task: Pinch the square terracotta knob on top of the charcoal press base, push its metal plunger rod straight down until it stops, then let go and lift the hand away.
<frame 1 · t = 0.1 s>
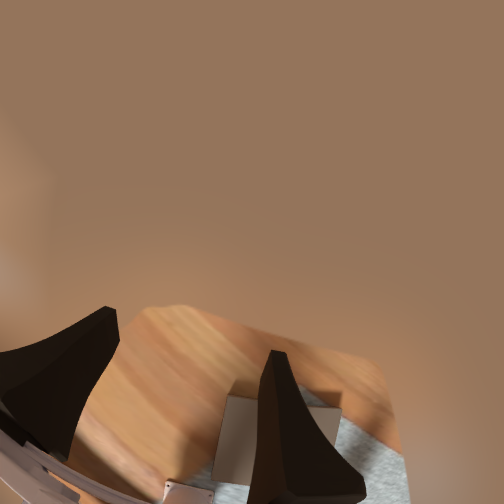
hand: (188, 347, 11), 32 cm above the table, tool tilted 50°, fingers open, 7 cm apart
press base: (275, 444, 36), on the table
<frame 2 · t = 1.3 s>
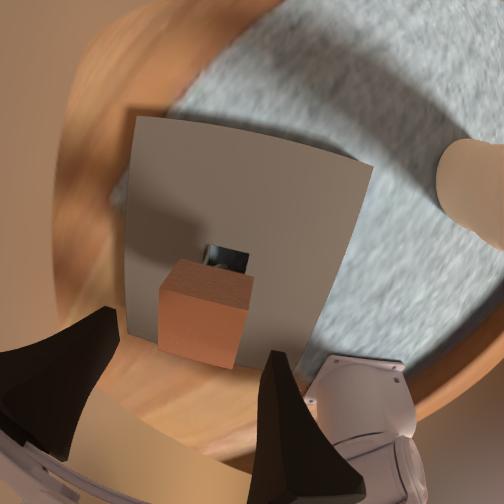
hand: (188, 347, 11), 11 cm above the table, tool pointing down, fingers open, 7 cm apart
press base: (229, 251, 21), on the table
plunger: (211, 297, 15), point 6 cm above the table, slide at 3.0 cm
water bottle: (462, 179, 17), on the table
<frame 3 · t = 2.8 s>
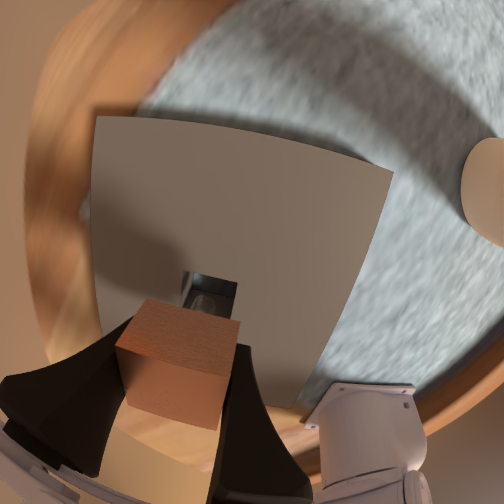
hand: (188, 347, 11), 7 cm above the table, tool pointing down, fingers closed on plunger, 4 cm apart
press base: (216, 274, 17), on the table
plunger: (189, 342, 12), point 6 cm above the table, slide at 3.0 cm, touching gripper
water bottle: (487, 185, 13), on the table
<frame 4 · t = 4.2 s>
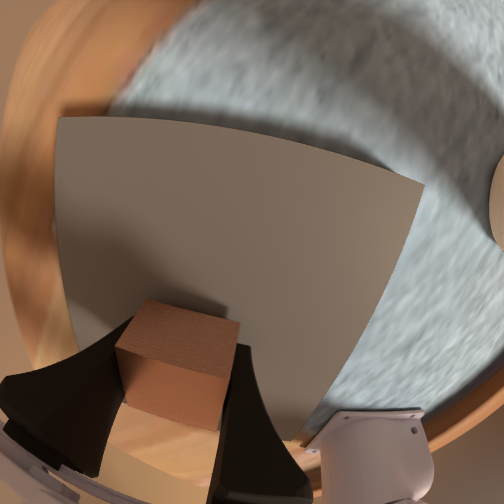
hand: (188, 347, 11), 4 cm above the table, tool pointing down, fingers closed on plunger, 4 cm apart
press base: (205, 302, 15), on the table
plunger: (189, 343, 12), point 3 cm above the table, slide at -0.1 cm, touching gripper
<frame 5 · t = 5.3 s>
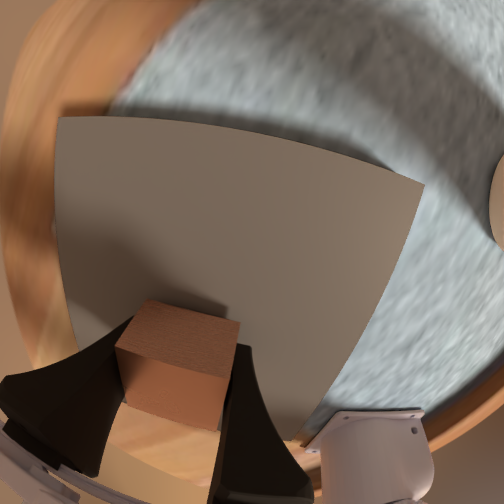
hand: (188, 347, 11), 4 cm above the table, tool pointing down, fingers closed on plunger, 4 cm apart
press base: (205, 302, 15), on the table
plunger: (189, 343, 12), point 3 cm above the table, slide at -0.1 cm, touching gripper
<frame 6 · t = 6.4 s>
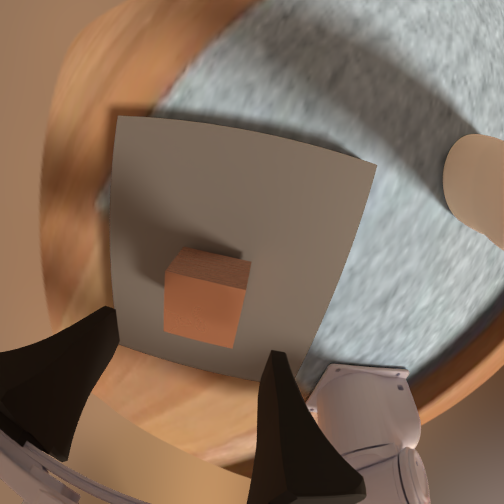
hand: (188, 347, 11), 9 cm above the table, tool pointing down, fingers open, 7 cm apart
press base: (222, 258, 20), on the table
plunger: (212, 282, 16), point 3 cm above the table, slide at -0.1 cm
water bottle: (470, 178, 15), on the table
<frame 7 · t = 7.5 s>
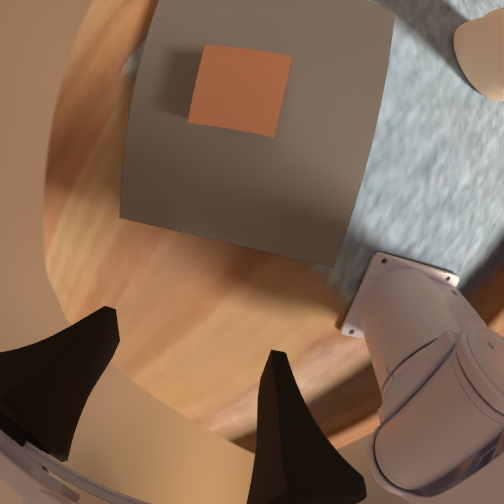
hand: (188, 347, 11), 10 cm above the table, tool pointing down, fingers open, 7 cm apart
press base: (253, 103, 16), on the table
plunger: (247, 96, 13), point 3 cm above the table, slide at -0.1 cm
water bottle: (479, 62, 12), on the table
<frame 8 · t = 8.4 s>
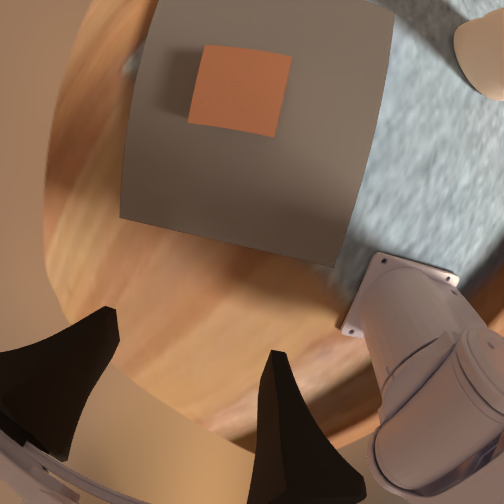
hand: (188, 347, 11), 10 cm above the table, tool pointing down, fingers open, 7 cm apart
press base: (253, 103, 16), on the table
plunger: (247, 96, 13), point 3 cm above the table, slide at -0.1 cm
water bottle: (479, 62, 12), on the table
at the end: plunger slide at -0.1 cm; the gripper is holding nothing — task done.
